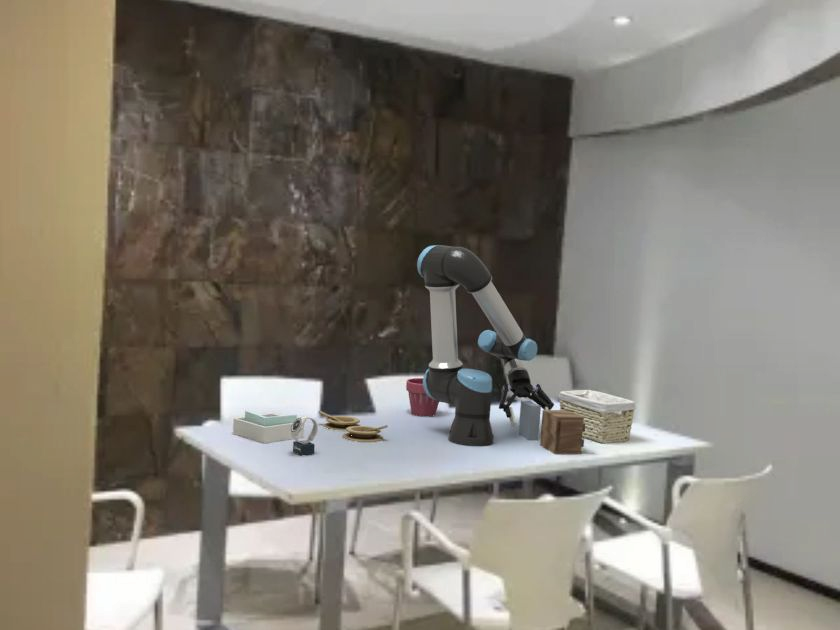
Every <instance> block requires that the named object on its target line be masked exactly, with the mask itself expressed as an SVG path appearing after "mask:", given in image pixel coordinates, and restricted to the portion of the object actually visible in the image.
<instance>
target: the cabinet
mask: <svg viewBox="0 0 840 630" xmlns="http://www.w3.org/2000/svg"><path fill="white" fill-rule="evenodd" d="M541 414H542V417H541V427H540V441H539V446H540V447H542V448H544V449H545V450H547V451H549V452H551V453H553V454H554V455H581V454H582V448H584V446H585V438H583V437H582V433H583V432H585V424H583V421H584V417H581V416H579V415H577V414H575V413H572V412H570V411H568V410H564V409H563V410H560V409H550V410H544V409H542V413H541Z"/></svg>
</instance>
